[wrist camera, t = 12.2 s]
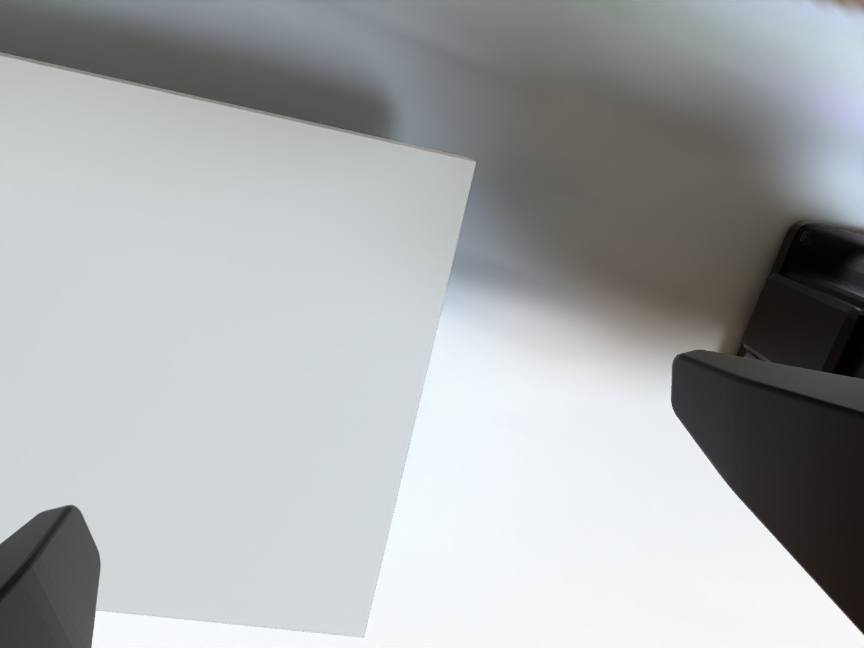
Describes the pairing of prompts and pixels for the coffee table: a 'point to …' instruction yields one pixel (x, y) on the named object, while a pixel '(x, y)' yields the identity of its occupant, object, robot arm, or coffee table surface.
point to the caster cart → (214, 341)
